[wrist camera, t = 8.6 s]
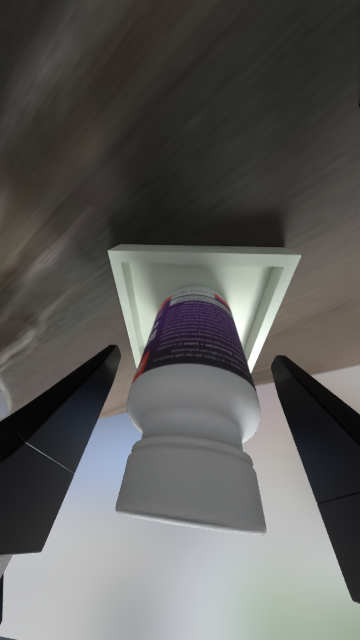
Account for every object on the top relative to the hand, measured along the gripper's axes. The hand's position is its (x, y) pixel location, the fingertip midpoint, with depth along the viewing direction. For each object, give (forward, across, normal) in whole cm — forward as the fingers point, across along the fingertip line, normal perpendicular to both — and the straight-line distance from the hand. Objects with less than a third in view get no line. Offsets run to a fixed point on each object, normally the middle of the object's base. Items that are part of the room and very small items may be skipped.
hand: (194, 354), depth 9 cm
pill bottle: (+4, 0, 0) cm, 4 cm away
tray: (+4, 0, 0) cm, 4 cm away
